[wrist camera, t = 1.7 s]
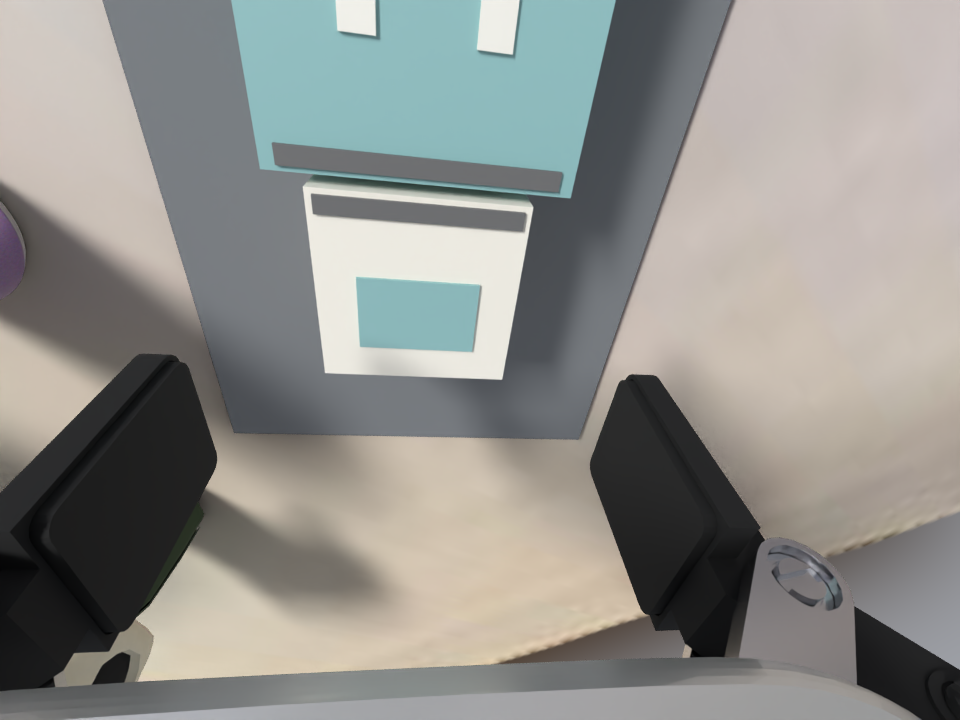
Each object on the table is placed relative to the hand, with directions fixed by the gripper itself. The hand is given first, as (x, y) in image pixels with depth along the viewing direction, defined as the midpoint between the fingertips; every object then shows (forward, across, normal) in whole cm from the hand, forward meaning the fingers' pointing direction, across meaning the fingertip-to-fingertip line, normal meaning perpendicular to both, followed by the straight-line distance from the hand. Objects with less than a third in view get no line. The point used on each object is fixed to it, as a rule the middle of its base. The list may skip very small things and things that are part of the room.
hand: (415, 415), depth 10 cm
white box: (+9, 0, -1) cm, 9 cm away
